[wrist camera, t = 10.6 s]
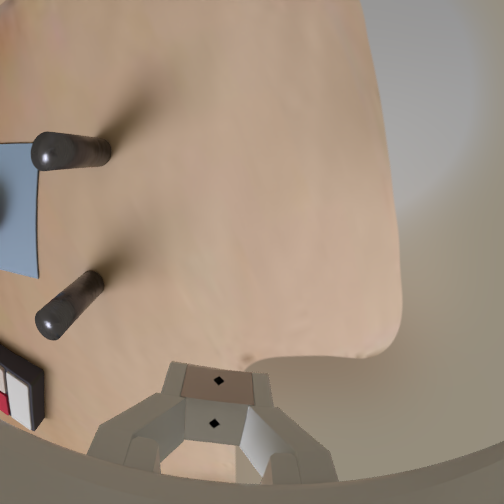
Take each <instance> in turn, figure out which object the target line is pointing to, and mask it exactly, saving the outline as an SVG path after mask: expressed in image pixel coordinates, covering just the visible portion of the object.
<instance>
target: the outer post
mask: <svg viewBox="0 0 504 504" xmlns="http://www.w3.org/2000/svg"><path fill="white" fill-rule="evenodd" d="M103 289H104V282H103V279H102V277H101V276H100V275H99V274H98V273H96V272H94V271H87V272H85V273H84V274H83V275H81V276H80V277H79V278H78V279H77V280H75V281H74V282H73V283H72V284H70V285H69V286H68V287H67V288H65V289H64V290H63V291H62V292H61V293H59V294H58V295H57V296H56V297H55V298H53V299H52V300H51V301H50V302H49V303H48V304H46V305H45V306H44V307H43V308H42V309H41V310H39V311H38V312H37V313H36V316H35V323H36V326H37V328H38V330H39V332H40V333H41V334H42V335H43V336H44V337H46V338H47V339H49V340H58V339H59V338H60V337H61V336H62V335H63V334H64V332H65V331H66V330H67V329H68V328H69V327H70V326H71V325H72V324H73V322H74V321H75V320H76V319H77V318H78V317H79V316H80V315H81V314H82V313H83V312H84V311H85V310H86V308H87V307H88V306H89V305H90V304H91V303H92V302H93V301H94V300H95V299H96V298H97V297H98V296H99V295H100V294H101V293H102V291H103Z"/></svg>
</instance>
